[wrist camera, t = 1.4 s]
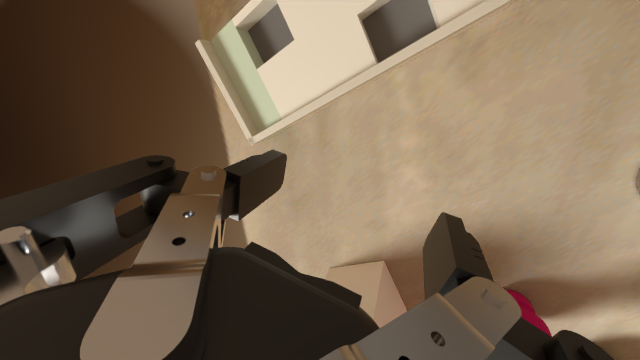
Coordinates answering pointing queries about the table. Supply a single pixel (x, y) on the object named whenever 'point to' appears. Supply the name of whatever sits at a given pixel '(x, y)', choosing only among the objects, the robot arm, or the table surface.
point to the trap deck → (323, 52)
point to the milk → (371, 289)
